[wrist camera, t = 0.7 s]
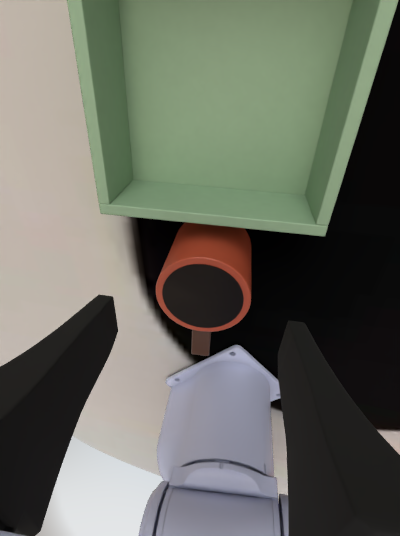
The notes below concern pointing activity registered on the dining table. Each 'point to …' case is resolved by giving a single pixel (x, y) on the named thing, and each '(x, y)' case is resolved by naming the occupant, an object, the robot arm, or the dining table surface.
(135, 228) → the dining table surface
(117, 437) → the dining table surface
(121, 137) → the drawer
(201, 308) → the pot
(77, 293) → the dining table surface
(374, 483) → the robot arm
